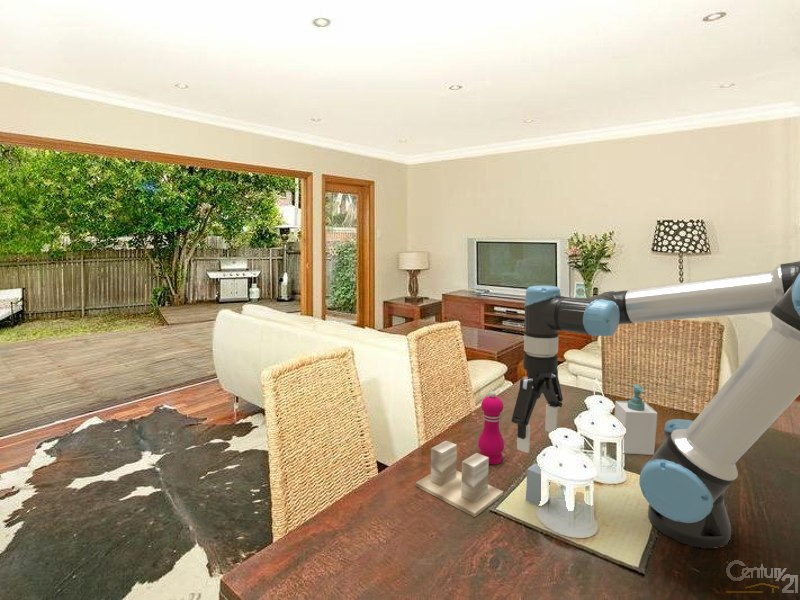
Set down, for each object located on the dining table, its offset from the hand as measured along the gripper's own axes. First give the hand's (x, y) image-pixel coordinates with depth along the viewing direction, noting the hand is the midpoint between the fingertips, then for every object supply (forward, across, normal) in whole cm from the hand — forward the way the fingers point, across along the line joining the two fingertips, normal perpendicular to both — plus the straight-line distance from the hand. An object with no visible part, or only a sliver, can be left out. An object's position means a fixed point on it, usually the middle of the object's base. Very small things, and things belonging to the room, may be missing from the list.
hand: (537, 440), depth 105 cm
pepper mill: (+15, -9, -18) cm, 25 cm away
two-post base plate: (+15, +10, -16) cm, 24 cm away
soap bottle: (+15, -44, +8) cm, 48 cm away
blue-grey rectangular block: (+15, 0, 0) cm, 15 cm away
